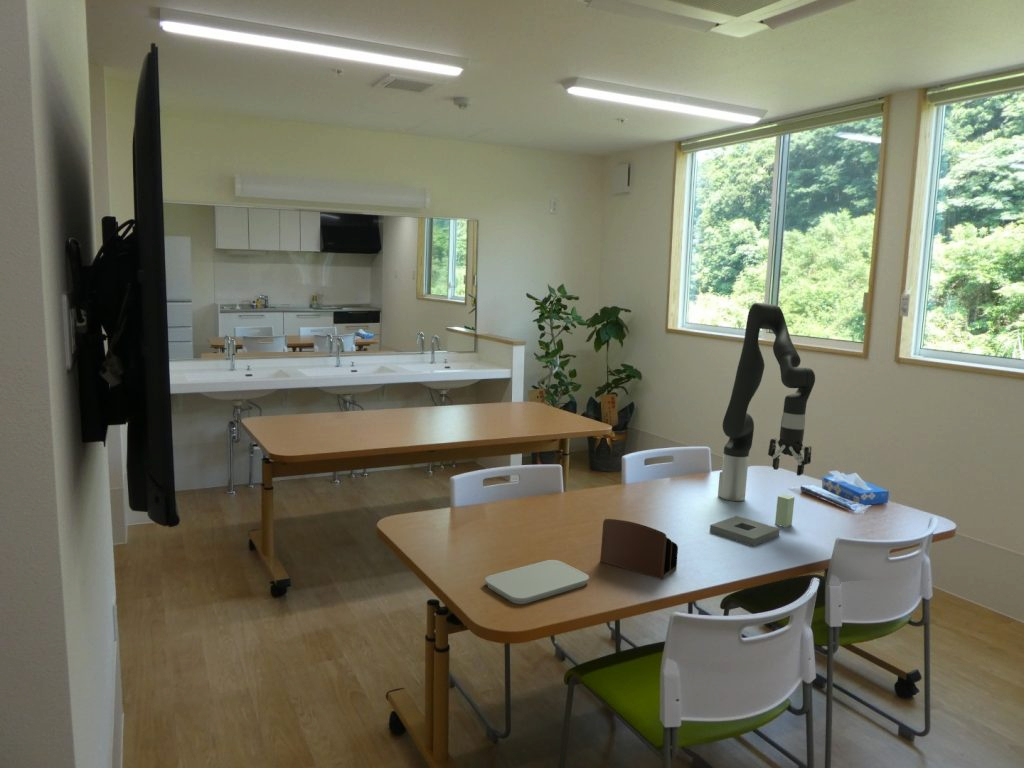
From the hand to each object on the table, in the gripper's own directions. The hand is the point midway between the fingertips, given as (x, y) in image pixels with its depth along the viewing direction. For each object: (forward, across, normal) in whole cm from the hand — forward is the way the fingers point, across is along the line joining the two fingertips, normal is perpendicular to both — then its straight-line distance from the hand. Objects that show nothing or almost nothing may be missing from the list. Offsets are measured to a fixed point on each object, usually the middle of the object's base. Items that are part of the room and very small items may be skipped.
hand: (787, 472), depth 254 cm
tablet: (+20, +13, +103) cm, 106 cm away
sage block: (+19, -1, 0) cm, 19 cm away
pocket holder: (+19, +2, +20) cm, 27 cm away
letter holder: (+19, +6, +70) cm, 73 cm away
